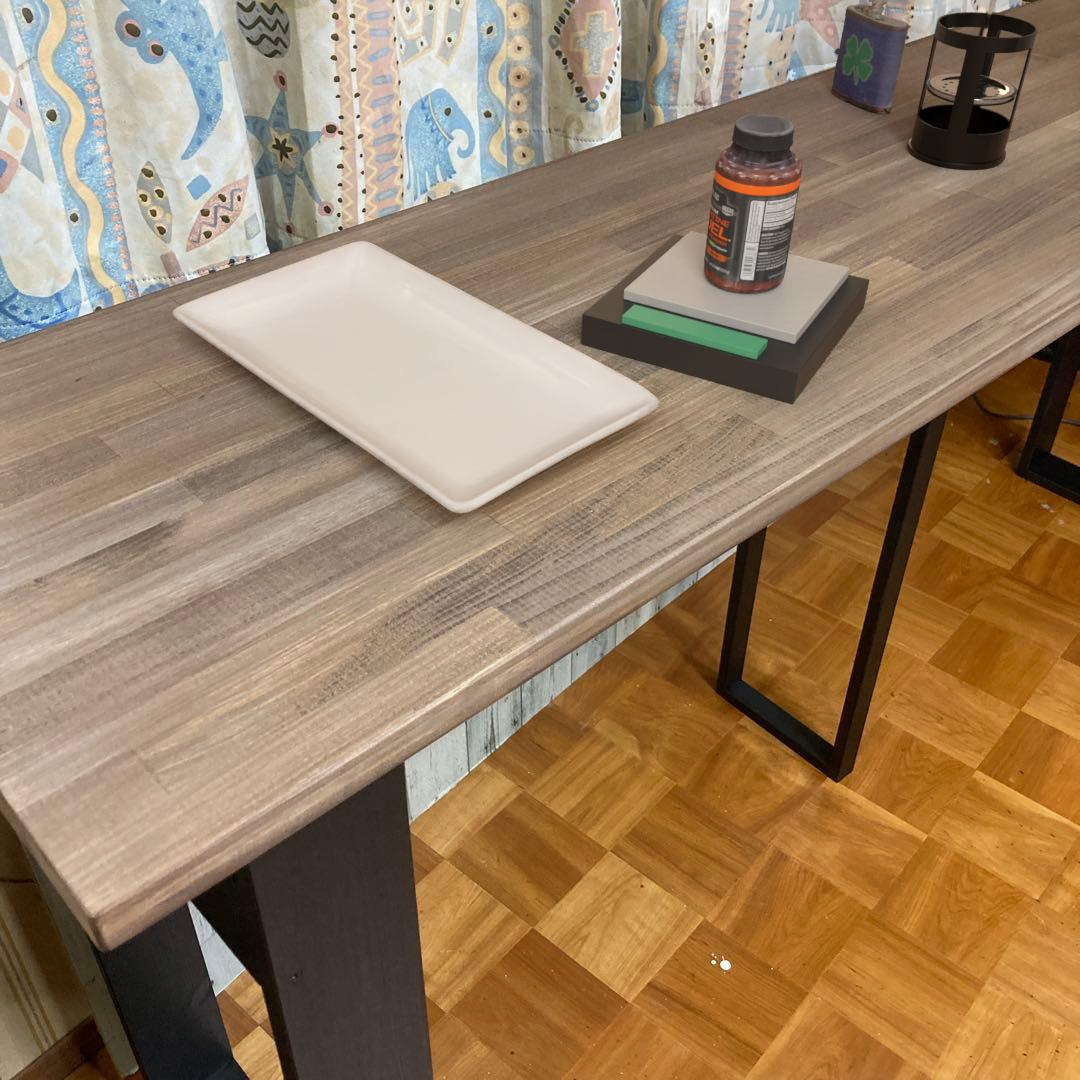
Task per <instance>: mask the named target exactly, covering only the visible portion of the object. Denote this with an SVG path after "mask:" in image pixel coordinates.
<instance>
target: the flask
mask: <svg viewBox="0 0 1080 1080" xmlns="http://www.w3.org/2000/svg"><path fill="white" fill-rule="evenodd" d="M888 1H889V0H868V2H869V3H871V4H870V5H868V2H864V3H856V4H850V5H848V6H847V7H846V9H845V14H844V16H845V17H844V21H843V27H842V32H841V37H840V42H839V48H838V54H837V58H836V63H835V68H834V74H833V75H834V76H833V80H832V84H831V90H830V93H831V92H832V93H833V94H832V93H831V94H832V95H834V96H836V97H837V98H839V99H840V100H842V101H845V102H847V103H850V104H851V105H853V106H856V107H858V108H860V109H863V110H865V111H867V112H874V113H875V114H878V115H879V114H882V115H885V114H887V113H891V112H892V110H893V106H894V101H895V95H896V90H897V89H896V88H897V83H898V77H899V73H900V69H901V63H902V59H903V54H904V49H905V44H906V39H907V37H908V33H909V32H908V31H909V27H910V25H909V23H908V22H905V21H902V20H898V19H894V18H893V17H889V16H887V15H884V14H882V13H883V12H884V10H885V5H887V4H888Z"/></svg>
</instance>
